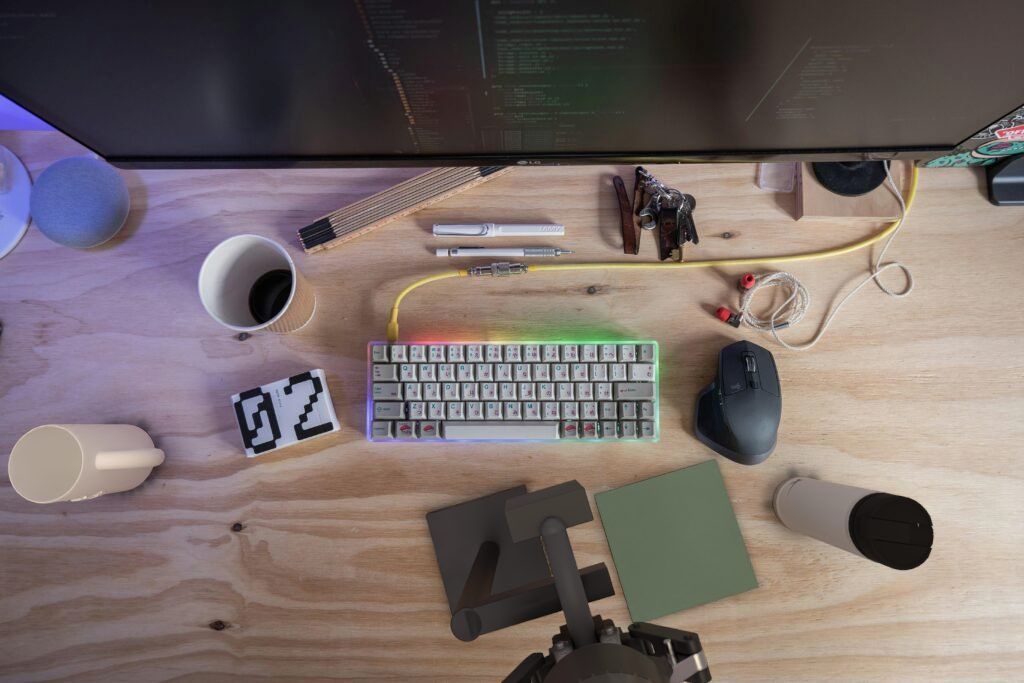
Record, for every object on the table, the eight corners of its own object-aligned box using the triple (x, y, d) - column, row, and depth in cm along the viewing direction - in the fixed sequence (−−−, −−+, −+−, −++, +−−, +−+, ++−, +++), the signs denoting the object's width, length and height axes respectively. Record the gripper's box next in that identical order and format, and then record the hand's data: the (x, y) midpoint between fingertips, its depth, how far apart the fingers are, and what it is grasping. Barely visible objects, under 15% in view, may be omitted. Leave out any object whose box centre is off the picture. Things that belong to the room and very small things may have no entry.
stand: (595, 573, 70) (637, 665, 43) (454, 615, 69) (408, 734, 43) (565, 472, 71) (587, 500, 45) (427, 512, 71) (366, 565, 44)
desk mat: (758, 586, 69) (759, 587, 68) (633, 624, 69) (633, 625, 68) (715, 459, 71) (716, 459, 71) (594, 495, 71) (594, 495, 70)
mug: (187, 490, 72) (120, 503, 60) (89, 494, 72) (3, 507, 61) (189, 421, 73) (124, 421, 61) (93, 425, 74) (10, 425, 62)
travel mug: (771, 472, 71) (866, 490, 51) (828, 480, 70) (945, 501, 51) (767, 526, 70) (861, 566, 50) (824, 535, 69) (942, 578, 50)
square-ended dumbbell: (629, 656, 48) (651, 705, 39) (557, 679, 47) (564, 732, 39) (575, 478, 50) (586, 488, 41) (506, 499, 50) (502, 513, 41)
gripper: (493, 904, 26) (507, 714, 43) (798, 811, 26) (691, 659, 43) (447, 723, 27) (479, 608, 44) (739, 634, 27) (658, 554, 44)
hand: (584, 634), depth 44 cm, fingers closed on square-ended dumbbell
